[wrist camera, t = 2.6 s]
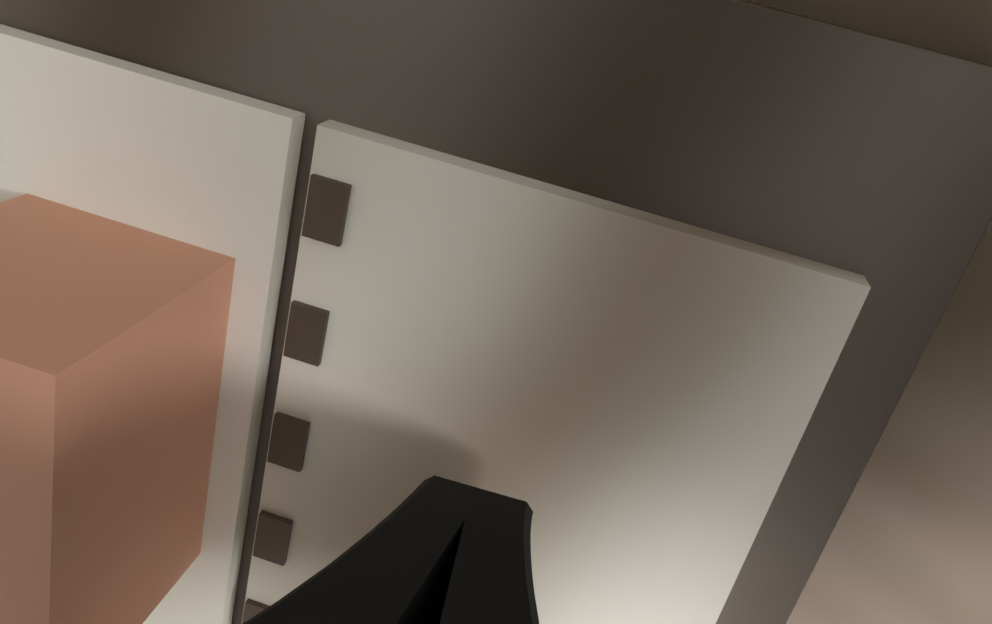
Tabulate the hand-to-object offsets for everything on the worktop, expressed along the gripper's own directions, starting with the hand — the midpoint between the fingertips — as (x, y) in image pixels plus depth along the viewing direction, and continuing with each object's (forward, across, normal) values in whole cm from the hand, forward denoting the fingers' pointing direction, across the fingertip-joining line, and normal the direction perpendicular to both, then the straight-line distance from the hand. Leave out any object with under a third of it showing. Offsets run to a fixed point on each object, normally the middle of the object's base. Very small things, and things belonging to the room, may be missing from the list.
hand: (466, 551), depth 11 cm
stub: (+1, +6, 0) cm, 7 cm away
